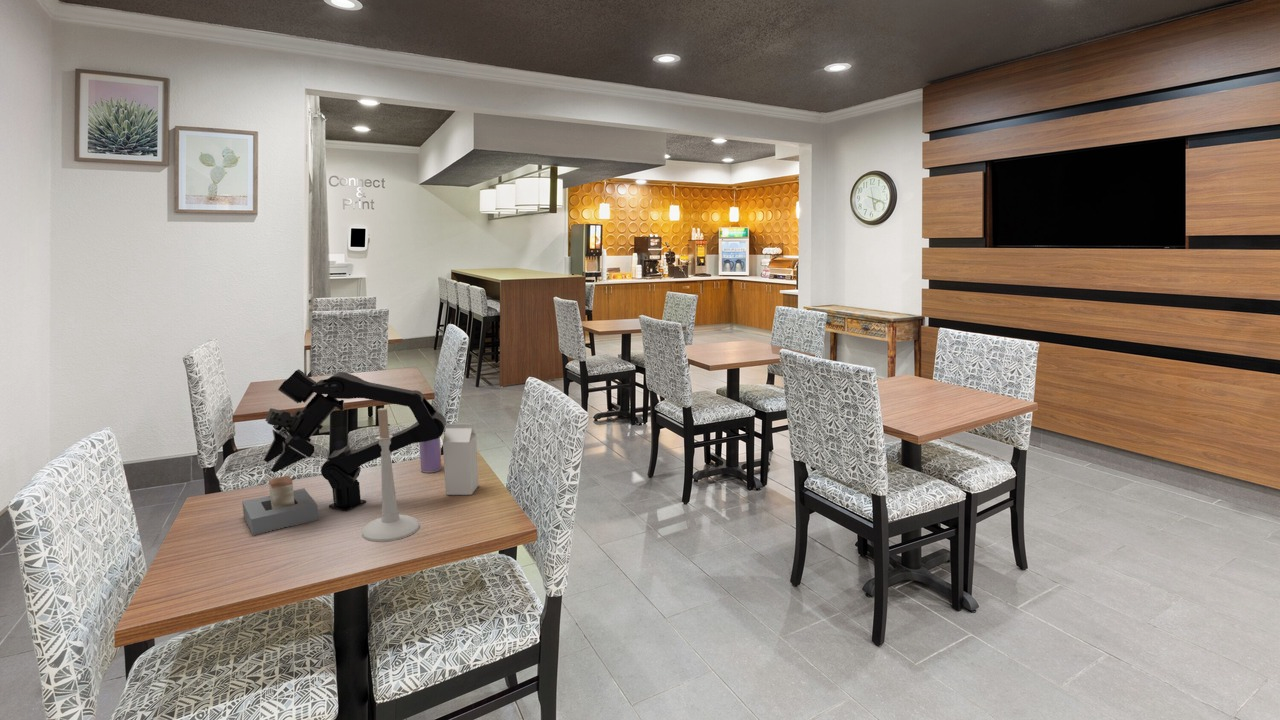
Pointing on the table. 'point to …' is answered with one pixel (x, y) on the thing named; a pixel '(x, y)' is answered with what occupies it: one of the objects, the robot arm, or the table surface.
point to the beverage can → (430, 456)
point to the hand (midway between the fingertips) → (268, 466)
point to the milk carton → (460, 459)
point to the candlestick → (388, 496)
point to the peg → (281, 492)
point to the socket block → (279, 513)
